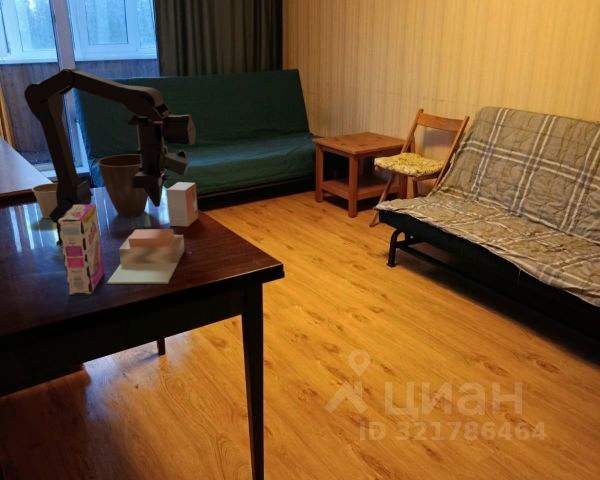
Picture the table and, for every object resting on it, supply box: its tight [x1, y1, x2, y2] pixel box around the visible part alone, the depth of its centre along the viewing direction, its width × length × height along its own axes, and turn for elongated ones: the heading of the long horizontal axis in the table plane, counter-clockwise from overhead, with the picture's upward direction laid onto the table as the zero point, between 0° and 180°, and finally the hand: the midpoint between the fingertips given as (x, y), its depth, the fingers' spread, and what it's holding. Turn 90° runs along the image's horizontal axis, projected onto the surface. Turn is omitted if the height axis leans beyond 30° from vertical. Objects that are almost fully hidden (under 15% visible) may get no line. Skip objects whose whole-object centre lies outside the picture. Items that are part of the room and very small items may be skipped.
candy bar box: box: [58, 203, 105, 296], centre depth 118 cm, size 11×5×16 cm, turn 5°
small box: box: [166, 181, 199, 227], centre depth 156 cm, size 8×6×10 cm
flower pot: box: [31, 182, 57, 219], centre depth 162 cm, size 9×9×9 cm
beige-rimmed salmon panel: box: [128, 228, 175, 247], centre depth 132 cm, size 9×6×2 cm, turn 90°
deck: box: [118, 234, 185, 265], centre depth 134 cm, size 13×9×4 cm
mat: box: [106, 263, 178, 285], centre depth 125 cm, size 13×10×1 cm
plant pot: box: [97, 153, 149, 218], centre depth 163 cm, size 15×15×16 cm
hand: (157, 206), depth 139 cm, fingers closed
